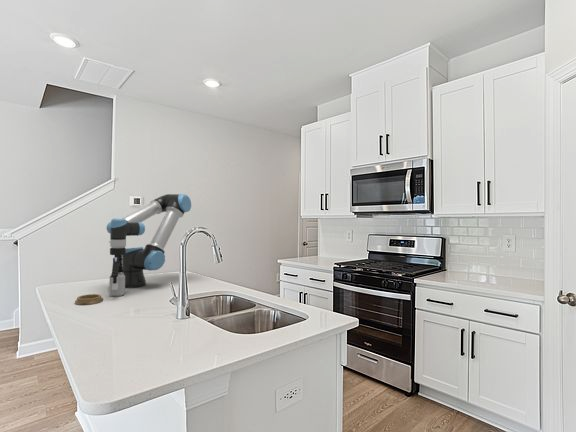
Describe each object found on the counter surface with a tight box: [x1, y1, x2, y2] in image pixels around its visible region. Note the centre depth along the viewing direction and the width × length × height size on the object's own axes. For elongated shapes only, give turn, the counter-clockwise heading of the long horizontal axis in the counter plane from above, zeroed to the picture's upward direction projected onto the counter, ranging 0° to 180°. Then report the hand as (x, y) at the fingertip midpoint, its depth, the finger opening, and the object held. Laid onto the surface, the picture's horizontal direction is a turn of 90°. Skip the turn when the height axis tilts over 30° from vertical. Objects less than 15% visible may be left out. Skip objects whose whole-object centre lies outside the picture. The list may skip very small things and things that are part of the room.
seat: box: [74, 293, 104, 306], centre depth 166 cm, size 12×12×3 cm
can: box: [108, 272, 126, 298], centre depth 180 cm, size 8×8×12 cm
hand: (116, 286), depth 180 cm, fingers open, 13 cm apart
